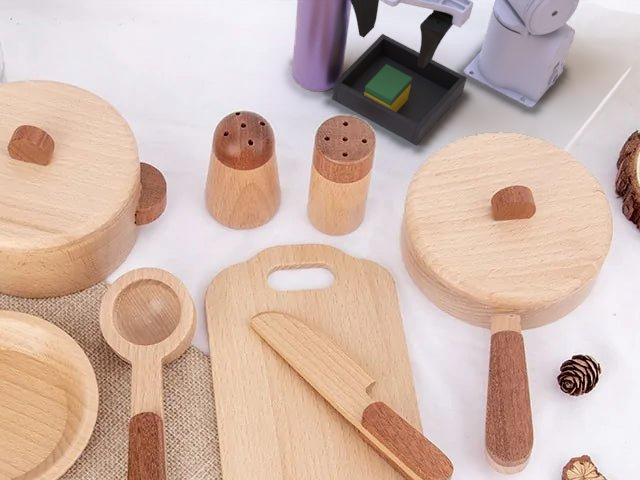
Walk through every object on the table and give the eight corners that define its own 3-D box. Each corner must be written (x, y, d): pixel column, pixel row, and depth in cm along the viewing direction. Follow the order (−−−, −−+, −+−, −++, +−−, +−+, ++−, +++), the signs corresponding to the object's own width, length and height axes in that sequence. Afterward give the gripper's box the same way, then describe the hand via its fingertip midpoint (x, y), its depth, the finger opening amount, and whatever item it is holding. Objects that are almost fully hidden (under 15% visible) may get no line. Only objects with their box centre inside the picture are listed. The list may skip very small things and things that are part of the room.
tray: (461, 96, 128) (466, 77, 125) (415, 148, 124) (419, 129, 121) (379, 52, 131) (382, 33, 128) (331, 101, 127) (333, 82, 124)
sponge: (408, 99, 127) (412, 77, 124) (387, 122, 125) (391, 100, 122) (382, 86, 128) (386, 63, 125) (361, 107, 126) (365, 85, 123)
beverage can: (336, 98, 127) (349, -5, 114) (287, 89, 128) (294, -15, 115) (346, 63, 130) (359, -42, 117) (297, 54, 131) (306, -51, 118)
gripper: (331, -69, 107) (320, 38, 119) (456, -7, 103) (432, 97, 115) (370, -105, 110) (356, 3, 122) (493, -46, 106) (466, 59, 118)
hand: (395, 46), depth 119 cm, fingers open, 7 cm apart
